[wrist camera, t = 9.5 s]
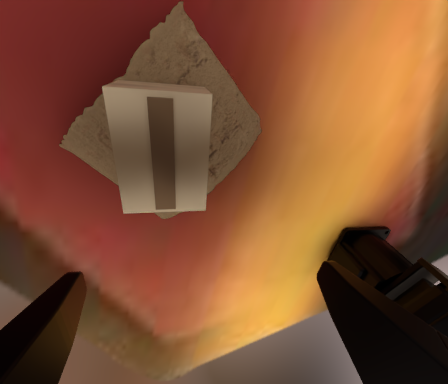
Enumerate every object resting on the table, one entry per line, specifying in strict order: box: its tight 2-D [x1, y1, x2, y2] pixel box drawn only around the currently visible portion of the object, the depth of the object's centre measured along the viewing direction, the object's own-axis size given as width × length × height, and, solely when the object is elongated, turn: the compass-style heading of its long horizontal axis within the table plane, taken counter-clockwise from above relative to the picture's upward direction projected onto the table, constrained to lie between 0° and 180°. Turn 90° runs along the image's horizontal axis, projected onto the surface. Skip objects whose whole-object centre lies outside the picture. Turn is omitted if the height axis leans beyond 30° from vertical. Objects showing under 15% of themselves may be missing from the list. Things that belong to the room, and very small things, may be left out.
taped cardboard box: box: [102, 80, 212, 214], centre depth 14 cm, size 7×5×4 cm
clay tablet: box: [59, 2, 262, 219], centre depth 16 cm, size 14×10×3 cm
